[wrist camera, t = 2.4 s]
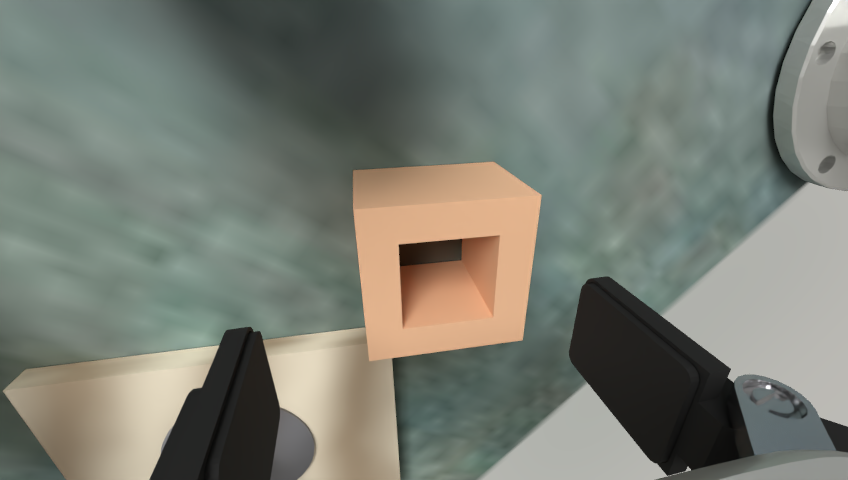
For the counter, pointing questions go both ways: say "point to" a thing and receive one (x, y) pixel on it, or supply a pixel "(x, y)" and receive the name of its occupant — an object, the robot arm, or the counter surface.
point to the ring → (444, 281)
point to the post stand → (186, 370)
